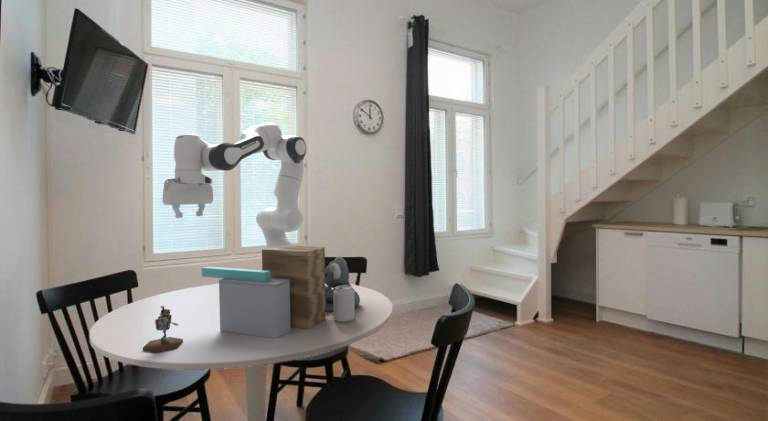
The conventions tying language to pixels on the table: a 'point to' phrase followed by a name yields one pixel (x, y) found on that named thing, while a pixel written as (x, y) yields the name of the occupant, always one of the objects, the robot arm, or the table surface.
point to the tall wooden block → (300, 280)
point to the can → (343, 303)
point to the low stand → (255, 306)
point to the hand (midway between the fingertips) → (189, 217)
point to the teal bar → (236, 273)
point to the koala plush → (337, 281)
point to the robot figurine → (164, 343)
